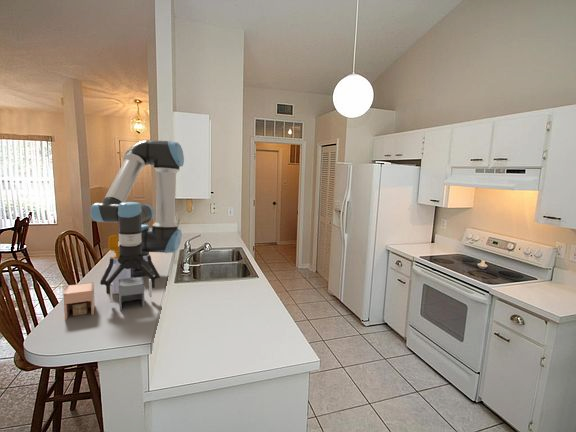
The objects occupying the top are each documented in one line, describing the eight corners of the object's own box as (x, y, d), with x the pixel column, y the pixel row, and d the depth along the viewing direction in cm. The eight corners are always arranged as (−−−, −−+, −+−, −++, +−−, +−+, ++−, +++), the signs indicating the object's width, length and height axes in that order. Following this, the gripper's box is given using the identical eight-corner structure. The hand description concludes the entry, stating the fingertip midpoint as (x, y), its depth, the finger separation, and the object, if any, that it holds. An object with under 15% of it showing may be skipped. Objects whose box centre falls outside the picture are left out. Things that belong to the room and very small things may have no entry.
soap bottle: (116, 296, 124) (115, 236, 120) (101, 291, 127) (99, 233, 123) (135, 288, 132) (134, 232, 128) (120, 284, 135) (119, 229, 131)
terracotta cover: (67, 309, 111) (66, 285, 109) (94, 305, 115) (93, 282, 113) (64, 319, 104) (63, 294, 102) (93, 315, 108) (92, 290, 106)
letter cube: (74, 311, 110) (73, 300, 109) (87, 309, 112) (87, 298, 111) (73, 316, 106) (72, 305, 106) (86, 313, 108) (86, 303, 108)
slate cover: (119, 301, 119) (118, 279, 118) (142, 298, 123) (142, 276, 122) (119, 310, 112) (119, 286, 111) (144, 306, 116) (144, 283, 115)
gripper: (90, 248, 105) (92, 308, 108) (167, 244, 117) (167, 297, 120) (91, 243, 111) (93, 299, 114) (164, 239, 123) (164, 290, 126)
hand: (131, 298), depth 117 cm, fingers open, 12 cm apart
